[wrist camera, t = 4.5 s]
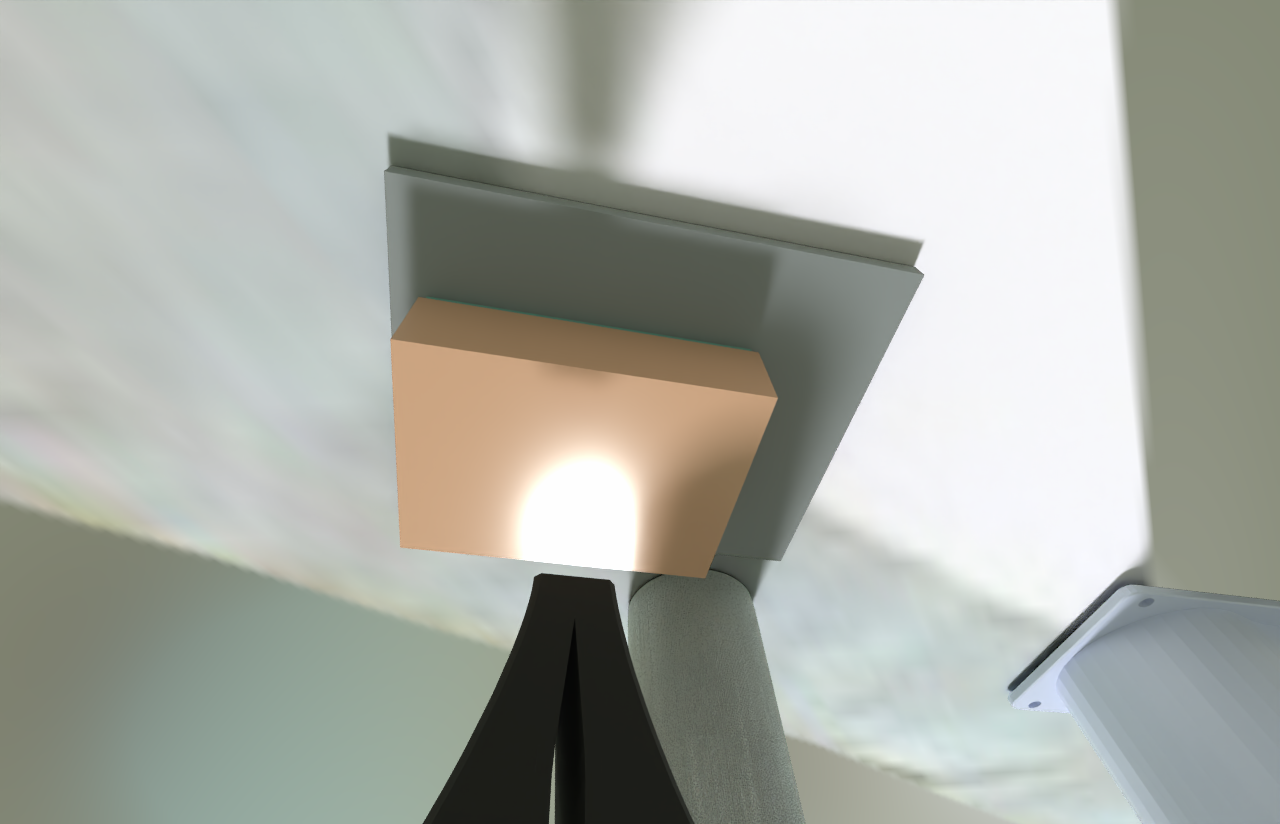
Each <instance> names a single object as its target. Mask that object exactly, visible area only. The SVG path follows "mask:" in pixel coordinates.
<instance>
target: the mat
mask: <svg viewBox="0 0 1280 824" xmlns="http://www.w3.org/2000/svg"><path fill="white" fill-rule="evenodd" d="M384 178H385V200H386V222H387V243H388V265H389V287H390V309H391V331H392V336H393V335H394V333H395V332H396V330H397V329H398V327H399V326H400V324H401V323H402V321H403V320H404V318H405V317H406V315H407V314H408V312H409V311H410V309H411V308H412V306H413V305H414V303H415V302H416V300H417V298H418V297H422V298H426V297H427V296H428V297H434V298H440V299H446V300H452V301H458V302H464V303H471V304H477V305H483V306H489V307H495V308H501V309H507V310H513V311H519V312H526V313H532V314H538V315H544V316H550V317H556V318H562V319H568V320H574V321H581V322H587V323H593V324H599V325H605V326H611V327H617V328H623V329H629V330H636V331H642V332H648V333H654V334H660V335H666V336H672V337H678V338H685V339H691V340H697V341H703V342H709V343H715V344H721V345H727V346H733V347H740V348H746V349H751V350H752V351H753V352H759V354H760V357H761V359H762V361H763V364H764V366H765V368H766V371H767V373H768V376H769V378H770V380H771V383H772V385H773V387H774V390H775V392H776V394H777V397H778V399H777V402H776V404H775V407H774V409H773V412H772V414H771V417H770V419H769V422H768V424H767V426H766V429H765V431H764V434H763V436H762V439H761V441H760V444H759V446H758V449H757V451H756V454H755V456H754V459H753V461H752V464H751V466H750V469H749V471H748V474H747V476H746V479H745V481H744V484H743V486H742V489H741V491H740V493H739V496H738V498H737V501H736V503H735V506H734V508H733V511H732V513H731V516H730V518H729V521H728V523H727V526H726V528H725V531H724V533H723V536H722V538H721V541H720V543H719V546H718V548H717V551H716V553H715V554H719V555H729V556H738V557H747V558H756V559H766V560H775V561H781V559H782V557H783V555H784V553H785V551H786V549H787V547H788V545H789V543H790V541H791V539H792V537H793V535H794V533H795V531H796V529H797V527H798V525H799V523H800V521H801V519H802V517H803V515H804V514H805V512H806V510H807V508H808V506H809V504H810V502H811V500H812V498H813V496H814V494H815V492H816V490H817V488H818V486H819V484H820V482H821V480H822V478H823V476H824V474H825V472H826V470H827V468H828V466H829V464H830V462H831V460H832V458H833V456H834V454H835V452H836V450H837V448H838V446H839V444H840V442H841V440H842V438H843V436H844V434H845V432H846V430H847V428H848V426H849V424H850V422H851V420H852V418H853V416H854V414H855V412H856V410H857V408H858V406H859V404H860V402H861V400H862V398H863V396H864V394H865V392H866V390H867V388H868V386H869V384H870V382H871V380H872V378H873V376H874V374H875V372H876V370H877V368H878V366H879V364H880V362H881V360H882V358H883V356H884V354H885V352H886V350H887V348H888V346H889V344H890V342H891V340H892V338H893V336H894V334H895V332H896V330H897V328H898V326H899V324H900V322H901V320H902V318H903V316H904V314H905V312H906V310H907V308H908V306H909V304H910V302H911V300H912V298H913V296H914V294H915V292H916V290H917V288H918V286H919V284H920V282H921V280H922V278H923V276H924V274H923V273H921V272H920V271H919V270H918V269H917V268H916V267H913V266H907V265H902V264H897V263H892V262H887V261H882V260H876V259H871V258H866V257H861V256H856V255H851V254H846V253H840V252H835V251H830V250H825V249H820V248H815V247H809V246H804V245H799V244H794V243H789V242H784V241H778V240H773V239H768V238H763V237H758V236H753V235H748V234H742V233H737V232H732V231H727V230H722V229H717V228H711V227H706V226H701V225H696V224H691V223H686V222H680V221H675V220H670V219H665V218H660V217H655V216H649V215H644V214H639V213H634V212H629V211H624V210H619V209H613V208H608V207H603V206H598V205H593V204H588V203H582V202H577V201H572V200H567V199H562V198H557V197H551V196H546V195H541V194H536V193H531V192H526V191H520V190H515V189H510V188H505V187H500V186H495V185H490V184H484V183H479V182H474V181H469V180H464V179H459V178H453V177H448V176H443V175H438V174H433V173H428V172H422V171H417V170H412V169H407V168H402V167H397V166H391V167H389V168H388V169H386V170H385V171H384Z"/></svg>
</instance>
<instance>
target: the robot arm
mask: <svg viewBox="0 0 1280 824" xmlns="http://www.w3.org/2000/svg"><path fill="white" fill-rule="evenodd" d="M1008 700H1009V702H1010V704H1011V706H1012V707H1013V708H1015V709H1021V710H1034V711H1048V712H1061V713H1070V714H1071V715H1072V717H1073V718H1074V720H1075V721H1076V723H1077V724H1078V726H1079V727H1080V729H1081V730H1082V732H1083V734H1084V735H1085V737H1086V738H1087V740H1088V741H1089V743H1090V744H1091V746H1092V747H1093V749H1094V751H1095V752H1096V754H1097V755H1098V757H1099V758H1100V760H1101V761H1102V763H1103V764H1104V766H1105V767H1106V769H1107V771H1108V772H1109V774H1110V775H1111V777H1112V778H1113V780H1114V781H1115V783H1116V784H1117V786H1118V788H1119V789H1120V791H1121V792H1122V794H1123V795H1124V797H1125V798H1126V800H1127V801H1128V803H1129V805H1130V806H1131V808H1132V809H1133V811H1134V812H1135V814H1136V815H1137V817H1138V818H1139V820H1140V821H1141V823H1142V824H1280V601H1276V600H1267V599H1258V598H1249V597H1241V596H1231V595H1223V594H1213V593H1205V592H1195V591H1188V590H1179V589H1170V588H1160V587H1152V586H1143V585H1127V586H1124V587H1122V588H1120V589H1118V590H1117V591H1116V592H1115V593H1114V594H1113V595H1112V596H1111V597H1110V598H1109V599H1108V600H1107V601H1106V602H1104V603H1103V604H1102V605H1101V606H1100V607H1099V608H1098V609H1097V610H1096V611H1095V612H1094V613H1093V614H1092V615H1091V616H1090V617H1089V618H1088V619H1087V620H1086V621H1085V622H1084V623H1083V624H1082V625H1081V626H1080V627H1079V628H1078V629H1077V630H1076V631H1075V632H1073V633H1072V634H1071V635H1070V636H1069V637H1068V638H1067V639H1066V640H1065V641H1064V642H1063V643H1062V644H1061V645H1060V646H1059V647H1058V648H1057V649H1056V650H1055V651H1054V652H1053V653H1052V654H1051V655H1050V656H1049V657H1048V658H1047V659H1046V660H1045V661H1044V662H1043V663H1041V664H1040V665H1039V666H1038V667H1037V668H1036V669H1035V670H1034V671H1033V672H1032V673H1031V674H1030V675H1029V676H1028V677H1027V678H1026V679H1025V680H1024V681H1023V682H1022V683H1021V684H1020V685H1019V686H1018V687H1017V688H1016V689H1015V690H1014V691H1013V692H1012V693H1011V694H1010V695H1009V696H1008ZM554 749H555V824H695V823H694V821H693V819H692V817H691V815H690V813H689V810H688V808H687V806H686V804H685V802H684V799H683V797H682V795H681V793H680V790H679V788H678V786H677V783H676V781H675V778H674V776H673V774H672V771H671V769H670V767H669V764H668V761H667V759H666V756H665V754H664V751H663V749H662V746H661V744H660V741H659V739H658V736H657V733H656V731H655V728H654V725H653V723H652V720H651V717H650V714H649V712H648V709H647V706H646V703H645V700H644V697H643V694H642V691H641V688H640V685H639V682H638V679H637V676H636V673H635V669H634V666H633V663H632V660H631V656H630V653H629V649H628V645H627V642H626V638H625V634H624V630H623V626H622V622H621V618H620V613H619V609H618V604H617V599H616V593H615V586H614V584H613V583H612V582H611V581H610V580H604V579H594V578H584V577H574V576H564V575H554V574H544V573H541V574H539V575H537V576H535V577H534V581H533V587H532V592H531V596H530V599H529V603H528V607H527V610H526V613H525V616H524V619H523V622H522V625H521V628H520V630H519V633H518V636H517V638H516V641H515V643H514V646H513V649H512V651H511V653H510V656H509V658H508V660H507V663H506V665H505V667H504V669H503V672H502V674H501V676H500V678H499V681H498V683H497V685H496V688H495V690H494V692H493V694H492V696H491V698H490V700H489V702H488V704H487V706H486V708H485V710H484V712H483V714H482V716H481V718H480V720H479V722H478V724H477V726H476V728H475V730H474V732H473V734H472V736H471V738H470V740H469V742H468V744H467V746H466V748H465V750H464V752H463V754H462V756H461V757H460V759H459V761H458V763H457V765H456V766H455V768H454V770H453V772H452V774H451V775H450V777H449V779H448V781H447V783H446V784H445V786H444V788H443V790H442V791H441V793H440V795H439V797H438V798H437V800H436V802H435V804H434V805H433V807H432V809H431V811H430V812H429V814H428V816H427V817H426V819H425V821H424V823H423V824H549V811H550V810H549V809H550V794H551V778H552V766H553V758H554Z"/></svg>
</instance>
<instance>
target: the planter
mask: <svg viewBox="0 0 1280 824" xmlns="http://www.w3.org/2000/svg"><path fill="white" fill-rule="evenodd" d="M628 649H629V653H630V656H631V660H632V663H633V666H634V669H635V673H636V676H637V679H638V682H639V685H640V688H641V691H642V694H643V697H644V700H645V703H646V706H647V709H648V712H649V714H650V717H651V720H652V723H653V725H654V728H655V731H656V733H657V736H658V739H659V741H660V744H661V746H662V749H663V751H664V754H665V756H666V759H667V761H668V764H669V767H670V769H671V771H672V774H673V776H674V778H675V781H676V783H677V786H678V788H679V790H680V793H681V795H682V797H683V799H684V802H685V804H686V806H687V808H688V810H689V813H690V815H691V817H692V819H693V821H694V823H695V824H805V819H804V815H803V811H802V807H801V803H800V798H799V794H798V790H797V786H796V782H795V777H794V773H793V769H792V765H791V760H790V756H789V752H788V748H787V744H786V739H785V735H784V731H783V727H782V722H781V718H780V714H779V710H778V706H777V701H776V697H775V693H774V689H773V685H772V680H771V676H770V672H769V668H768V663H767V659H766V655H765V651H764V647H763V642H762V638H761V634H760V630H759V626H758V621H757V617H756V613H755V609H754V606H753V603H752V599H751V596H750V594H749V592H748V590H747V589H746V588H745V586H744V585H743V584H742V583H740V582H739V581H738V580H736V579H735V578H733V577H731V576H729V575H727V574H724V573H721V572H717V571H712V570H708V573H707V575H706V578H696V577H686V576H677V575H667V574H664V575H662V576H659V577H657V578H655V579H653V580H651V581H649V582H648V583H647V584H645V585H644V586H643V587H642V588H640V589H639V590H638V591H637V593H636V594H635V595H634V596H633V598H632V600H631V602H630V605H629V610H628Z"/></svg>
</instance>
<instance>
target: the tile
mask: <svg viewBox="0 0 1280 824" xmlns="http://www.w3.org/2000/svg"><path fill="white" fill-rule="evenodd" d="M391 360H392V381H393V402H394V423H395V444H396V465H397V486H398V508H399V529H400V547H401V548H411V549H421V550H431V551H441V552H451V553H460V554H470V555H480V556H490V557H500V558H510V559H519V560H529V561H539V562H549V563H559V564H568V565H578V566H588V567H598V568H608V569H618V570H627V571H637V572H647V573H657V574H667V575H677V576H686V577H696V578H706V575H707V573H708V570H709V568H710V565H711V563H712V560H713V558H714V556H715V553H716V551H717V548H718V546H719V543H720V541H721V538H722V536H723V533H724V531H725V528H726V526H727V523H728V521H729V518H730V516H731V513H732V511H733V508H734V506H735V503H736V501H737V498H738V496H739V493H740V491H741V489H742V486H743V484H744V481H745V479H746V476H747V474H748V471H749V469H750V466H751V464H752V461H753V459H754V456H755V454H756V451H757V449H758V446H759V444H760V441H761V439H762V436H763V434H764V431H765V429H766V426H767V424H768V422H769V419H770V417H771V414H772V412H773V409H774V407H775V404H776V402H777V399H778V397H777V394H776V392H775V390H774V387H773V385H772V383H771V380H770V378H769V376H768V373H767V371H766V368H765V366H764V364H763V361H762V359H761V357H760V354H759V352H753V351H752V350H751V349H746V348H740V347H733V346H727V345H721V344H715V343H709V342H703V341H697V340H691V339H685V338H678V337H672V336H666V335H660V334H654V333H648V332H642V331H636V330H629V329H623V328H617V327H611V326H605V325H599V324H593V323H587V322H581V321H574V320H568V319H562V318H556V317H550V316H544V315H538V314H532V313H526V312H519V311H513V310H507V309H501V308H495V307H489V306H483V305H477V304H471V303H464V302H458V301H452V300H446V299H440V298H434V297H428V296H427V297H426V298H422V297H418V298H417V300H416V302H415V303H414V305H413V306H412V308H411V309H410V311H409V312H408V314H407V315H406V317H405V318H404V320H403V321H402V323H401V324H400V326H399V327H398V329H397V330H396V332H395V333H394V335H393V336H392V338H391Z"/></svg>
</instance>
